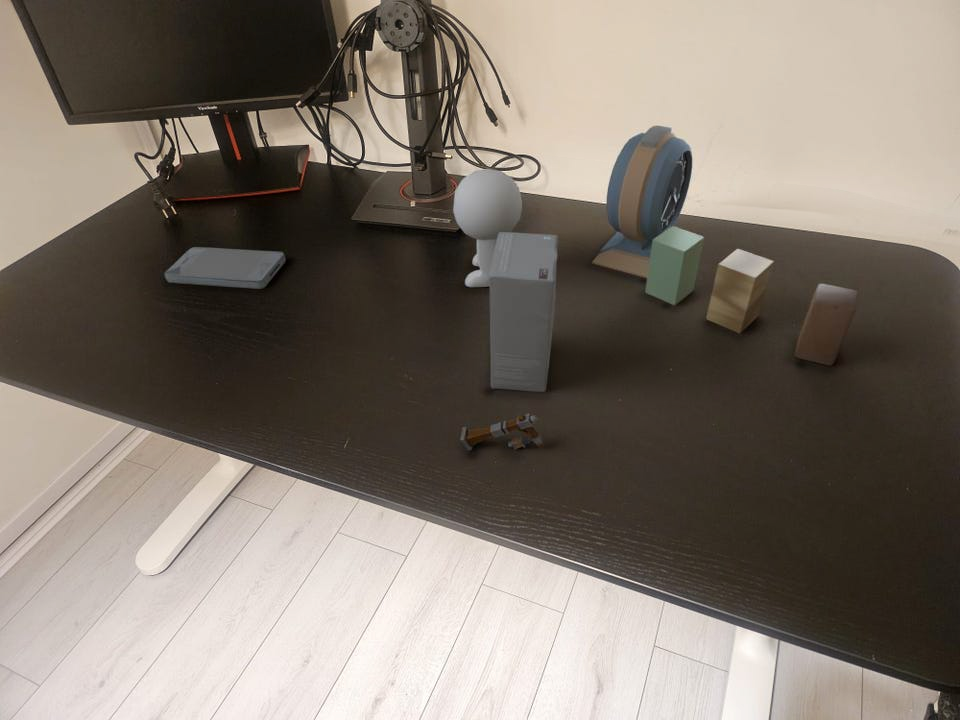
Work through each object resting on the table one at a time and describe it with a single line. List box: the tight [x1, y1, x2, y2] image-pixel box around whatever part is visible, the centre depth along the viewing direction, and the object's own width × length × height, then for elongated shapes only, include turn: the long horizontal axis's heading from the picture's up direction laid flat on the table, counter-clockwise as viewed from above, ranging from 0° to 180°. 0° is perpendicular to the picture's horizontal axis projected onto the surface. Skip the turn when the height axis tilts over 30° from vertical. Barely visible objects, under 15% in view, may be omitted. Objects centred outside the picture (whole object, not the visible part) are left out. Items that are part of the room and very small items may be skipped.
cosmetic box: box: [489, 231, 559, 393], centre depth 66 cm, size 8×7×16 cm
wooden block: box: [794, 283, 859, 367], centre depth 67 cm, size 4×4×8 cm
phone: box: [163, 246, 287, 290], centre depth 91 cm, size 8×16×1 cm, turn 78°
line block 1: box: [644, 225, 705, 306], centre depth 78 cm, size 4×4×8 cm
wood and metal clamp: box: [460, 413, 544, 452], centre depth 61 cm, size 2×8×4 cm, turn 84°
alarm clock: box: [591, 125, 693, 279], centre depth 83 cm, size 14×10×18 cm
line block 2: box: [705, 248, 775, 334], centre depth 73 cm, size 4×4×8 cm
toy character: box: [452, 168, 523, 288], centre depth 82 cm, size 9×9×15 cm
